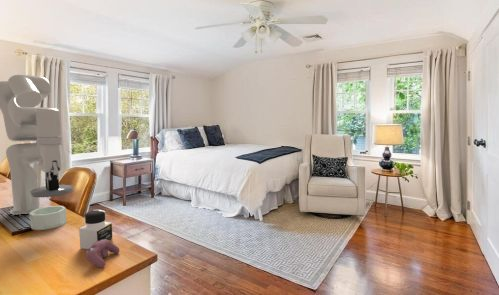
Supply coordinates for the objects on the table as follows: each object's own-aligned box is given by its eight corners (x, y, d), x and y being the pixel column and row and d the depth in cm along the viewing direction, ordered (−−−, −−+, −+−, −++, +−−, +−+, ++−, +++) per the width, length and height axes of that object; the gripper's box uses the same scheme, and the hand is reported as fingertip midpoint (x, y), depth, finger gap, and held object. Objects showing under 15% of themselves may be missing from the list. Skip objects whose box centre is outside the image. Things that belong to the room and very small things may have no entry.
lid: (26, 192, 104) (25, 176, 103) (66, 185, 114) (65, 171, 113) (36, 199, 95) (34, 183, 95) (78, 192, 105) (77, 177, 105)
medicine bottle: (98, 251, 90) (96, 215, 89) (79, 248, 91) (77, 214, 90) (113, 241, 97) (111, 208, 96) (95, 239, 98) (93, 207, 97)
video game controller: (109, 256, 90) (99, 238, 89) (121, 250, 89) (111, 232, 89) (91, 273, 80) (79, 253, 79) (104, 267, 79) (93, 246, 79)
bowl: (27, 224, 111) (26, 210, 110) (61, 217, 120) (60, 204, 119) (35, 232, 104) (34, 217, 103) (70, 223, 112) (69, 209, 112)
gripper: (31, 140, 105) (34, 186, 107) (43, 144, 94) (46, 195, 96) (54, 139, 110) (57, 183, 113) (68, 142, 100) (71, 191, 102)
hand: (52, 188), depth 104 cm, fingers closed on lid, 3 cm apart
